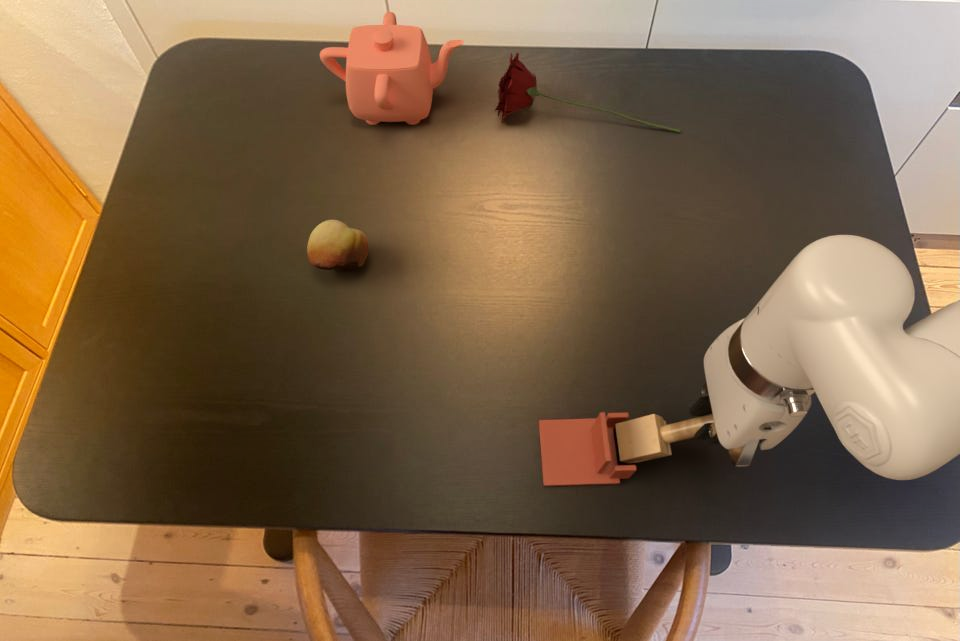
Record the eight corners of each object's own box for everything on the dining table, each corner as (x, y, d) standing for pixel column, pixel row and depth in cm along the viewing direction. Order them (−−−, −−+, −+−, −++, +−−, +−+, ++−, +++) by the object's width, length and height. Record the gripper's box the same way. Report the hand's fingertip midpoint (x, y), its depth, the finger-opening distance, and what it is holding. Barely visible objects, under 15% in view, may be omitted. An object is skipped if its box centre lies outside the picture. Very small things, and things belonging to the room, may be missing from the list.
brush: (753, 396, 64) (741, 389, 62) (763, 437, 62) (751, 431, 60) (628, 428, 73) (614, 423, 71) (633, 465, 71) (619, 461, 69)
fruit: (382, 270, 85) (372, 237, 78) (328, 297, 84) (314, 266, 76) (358, 232, 88) (347, 198, 81) (306, 257, 86) (290, 224, 79)
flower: (695, 132, 90) (500, 81, 87) (663, 178, 99) (486, 132, 97) (695, 82, 95) (510, 31, 92) (665, 129, 104) (496, 84, 102)
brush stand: (620, 418, 75) (631, 401, 69) (629, 483, 72) (642, 470, 66) (538, 421, 75) (543, 403, 69) (543, 486, 72) (548, 473, 66)
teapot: (328, 106, 100) (307, 37, 88) (397, 57, 105) (386, -14, 93) (398, 158, 95) (385, 92, 83) (467, 104, 100) (464, 35, 88)
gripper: (855, 451, 45) (757, 500, 61) (800, 269, 52) (726, 356, 69) (754, 452, 45) (683, 501, 61) (713, 271, 52) (660, 357, 69)
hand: (706, 424), depth 65 cm, fingers closed on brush, 2 cm apart
